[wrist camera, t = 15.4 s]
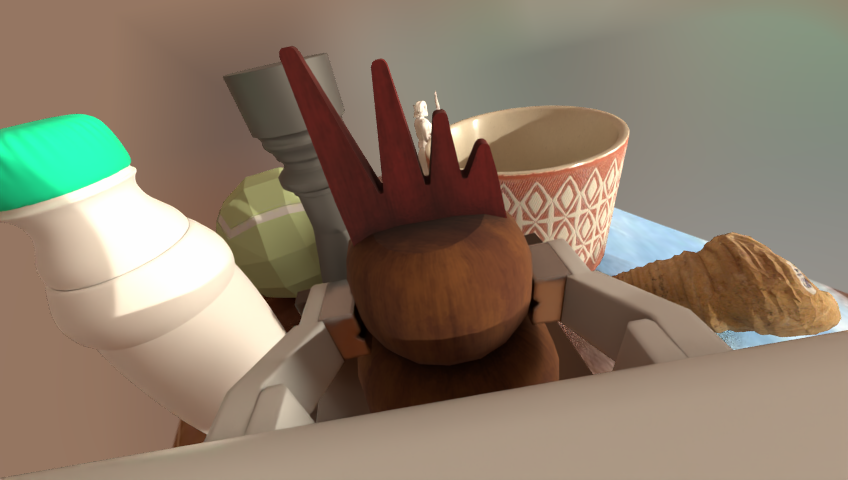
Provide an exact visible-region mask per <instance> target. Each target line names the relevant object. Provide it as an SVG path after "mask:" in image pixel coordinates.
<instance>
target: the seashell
mask: <svg viewBox="0 0 848 480" xmlns="http://www.w3.org/2000/svg"><path fill="white" fill-rule="evenodd" d="M612 277H613V278H616V279H618V280H621V281H623V282H625V283H628V284H630V285H633V286H635V287H637V288H640V289H642V290H645V291H647V292H649V293H652V294H654V295H656V296H659V297H661V298H664V299H666V300H668V301H671V302H673V303H676V304H678V305H680V306H683V307H685V308H688V309H690V310H691V311H692V312H693V313H694V314H695V315H697V316H698V317H699V318H700V319H701V320H702V321H703V322H704V323H705V324H706V325H707V326H708V327H709V328H710V329H711V330H712V331H713V332H715V333H721V332H724V331H726V330H731V331H734V332H746V331H755V332H757V333H758V334H760V335H769V334H770V335H775V336H779V337H792V336H800V335H816V334H818V333H820V332H824V331H827V330H830V329H831V328H832V327H834V326H836V325H837V324H838V323H839V321H840V319H841V315H840V311H839V307H838V303H837V302H836V301H835V299H834V298H833V296H832V295H831V294H830V293H828V292H825V291H820V290H819V289H818V288H817V287H816V286H815V285H814V284H813V283H811V282H810V281H809V279H808V278H807V277H806V276H805V275H804V274H803V273H802V272H801V271H800V270H799V269H798V268H797V267H796V266H794V265H793V264H791V263H790V262H789V261H787V260H785V259H783V258H782V257H780V256H778V255H776V254H774V253H773V252H772V251H771V250H770V249H769V248H768V247H766V246H765V245H763V244H761V243H759V242H757V241H755V240H754V239H752V238H751V237H750V236H745V235H741V234H737V233H734V232H732V233H727V234H725V235H720V236H717V237H714V238H713V239H712V240H711V241H710V242H707V243H706V244H705V245H704V247H703V249H702V250H700V251H699V252H697V253H695V252H690V251H683V252H682V253H681V254H680V255H674V256H673V257H672V258H671V259H667V260H656V261H655V262H653V263H648V264H647V265H645V266H644V267H636V268H635V269H630V271H628V272H622V273H620V274H618V275H616V276H612Z"/></svg>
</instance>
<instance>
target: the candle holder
mask: <svg viewBox="0 0 848 480" xmlns="http://www.w3.org/2000/svg"><path fill="white" fill-rule="evenodd" d="M303 58H304V60H305V61H306V63H307V64H308V66H309V68H310V69H311V71H312V72H313V74H314V76H315V77H316V79H317V81H318V82H319V84H320V85H321V87H322V89H323V90H324V92H325V93H326V95H327V97H328V98H329V100H330V101H331V103H332V105H333V106H334V108H335V110H336V111H337V113H338V114H339V116H340V118H341V119H342V115H343V113H344V111H345V109H344V106H343V103H342V100H341V97H340V93H339V90H338V87H337V84H336V80H335V77H334V74H333V71H332V67H331V64H330V61H329V58H328V54H327V53H322V54H316V55H311V56H306V57H303ZM223 78H224V80H225V82H226V84H227V86H228V88H229V90H230V92H231V94H232V96H233V98H234V100H235V102H236V104H237V106H238V108H239V110H240V112H241V114H242V116H243V118H244V120H245V122H246V124H247V126H248V128H249V130H250V133H251V135H252V136H253V137H254V138H258V139H259V140H260V141H261V142H262V146H263V148H264V149H265V150H266V151H268V152H269V153H272V154H273V155H274V156H275V157H276V159H277V160H278V161H279V162H282V163H283V164H284V169H283V170H282V171H281V173H280V175H279V177H278V179H279V182H280V184H281V186H282V188H283V189H284V190H286V191H289V192H292V193H294V195H295V196H298V197H299V199H300V201H301V203H302V205H303V207H304V210H305V212H306V214H307V216H308V218H309V220H310V222H311V225H312V227H313V230H314V236H315V241H316V247H317V252H318V258H319V264H320V270H321V276H322V281H323V283H329V282H333V281H339V280H345V279H347V270H346V258H347V251H348V243H349V240H350V236H349V234H348V231H347V229H346V227H345V224H344V222H343V220H342V217H341V215H340V213H339V210H338V208H337V206H336V203H335V201H334V198H333V196H332V193H331V190H330V188H329V185H328V183H327V180H326V177H325V175H324V172H323V170H322V167H321V164H320V162H319V159H318V156H317V154H316V151H315V149H314V146H313V143H312V141H311V138H310V136H309V133H308V130H307V128H306V125H305V123H304V120H303V117H302V115H301V112H300V110H299V107H298V104H297V102H296V99H295V97H294V94H293V91H292V89H291V86H290V84H289V81H288V78H287V76H286V73H285V70H284V68H283V65H282V63H281V62H278V63H273V64H269V65H265V66H260V67H256V68H252V69H248V70H244V71H240V72H236V73H232V74H228V75H225V76H223ZM342 121H343V120H342ZM343 122H344V121H343Z"/></svg>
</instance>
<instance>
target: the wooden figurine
mask: <svg viewBox="0 0 848 480" xmlns="http://www.w3.org/2000/svg"><path fill="white" fill-rule="evenodd" d="M279 55H280V56H279V57H280V60H281V63H282V65H283V68H284V70H285V73H286V76H287V78H288V81H289V84H290V86H291V89H292V91H293V94H294V97H295V99H296V102H297V104H298V107H299V110H300V112H301V115H302V117H303V120H304V123H305V125H306V128H307V130H308V133H309V136H310V138H311V141H312V143H313V146H314V149H315V151H316V154H317V156H318V159H319V162H320V164H321V167H322V170H323V172H324V175H325V177H326V180H327V183H328V185H329V188H330V190H331V193H332V196H333V198H334V201H335V203H336V206H337V208H338V210H339V213H340V215H341V217H342V220H343V222H344V224H345V227H346V229H347V231H348V234H349V236H350V240H349V243H348V251H347V258H346V270H347V282H348V284H349V287H350V290H351V292H352V295H353V298H354V300H355V303H356V306H357V308H358V311H359V314H360V316H361V319H362V320H363V322H364V324H365V326H366V328H367V329H368V331H369V332H370V333H371V334H372V350H371V354H370V355H366V356H361V357H358V377H359V380H360V383H361V386H362V389H363V392H364V395H365V398H366V401H367V404H368V407H369V410H370V413H376V412H382V411H388V410H394V409H399V408H405V407H411V406H417V405H422V404H428V403H434V402H440V401H445V400H451V399H457V398H463V397H469V396H474V395H480V394H486V393H491V392H497V391H503V390H509V389H514V388H520V387H526V386H531V385H537V384H543V383H548V382H554V381H559V357H558V354H557V351H556V348H555V345H554V342H553V340H552V338H551V335H550V333H549V331H548V329H547V327H546V325H545V323H544V324H538V325H532V323H531V321H530V319H529V317H528V315H527V314H528V310H529V305H530V301H531V291H532V276H533V270H532V253H531V251H530V248H529V246H528V244H527V241H526V239H525V236H524V234H523V232H522V230H521V229H520V227H519V226H518V224H517V223H516V221H515V219H514V218H513V216H512V215H511V214H509V213H508V212H507V211H506V210H505V206H504V201H503V197H502V192H501V187H500V183H499V178H498V174H497V170H496V166H495V163H494V159H493V156H492V153H491V149H490V146H489V144H488V143H487V141H486V140H485V139H483V138H479V139H477V140H476V141H475V143H474V145H473V148H472V150H471V153H470V155H469V158H468V160H467V163H466V165H465V168H464V169H463V170H460V167H459V163H458V158H457V154H456V150H455V146H454V142H453V138H452V134H451V129H450V125H449V121H448V117H447V114H446V112H445V111H444V110H443V109H440V110H435V111H434V112H433V115H432V130H431V147H430V164H429V175H428V176H425V175H424V173H423V170H422V167H421V164H420V161H419V158H418V155H417V152H416V149H415V146H414V143H413V140H412V137H411V134H410V131H409V128H408V125H407V122H406V119H405V116H404V113H403V110H402V107H401V104H400V101H399V98H398V95H397V92H396V89H395V86H394V83H393V79H392V77H391V73H390V70H389V67H388V65H387V63H386V61H385V60H384V59H377V60H375V61H373V62H372V65H371V71H372V82H373V92H374V102H375V111H376V120H377V130H378V141H379V150H380V161H381V171H382V180H383V183H381V182H380V180H379V179H378V177H377V176H376V174H375V172H374V171H373V169H372V167H371V166H370V164H369V163H368V161H367V159H366V158H365V156H364V155H363V153H362V151H361V150H360V148H359V147H358V145H357V143H356V142H355V140H354V139H353V137H352V135H351V134H350V132H349V130H348V129H347V127H346V126H345V124H344V122H343V121H342V119H341V118H340V116H339V114H338V113H337V111H336V110H335V108H334V106H333V105H332V103H331V101H330V100H329V98H328V97H327V95H326V93H325V92H324V90H323V89H322V87H321V85H320V84H319V82H318V81H317V79H316V77H315V76H314V74H313V72H312V71H311V69H310V68H309V66H308V64H307V63H306V61H305V60H304V58H303V56H302V55H301V53H300V52H299V51H298V49H297V48H296V47H294V46H290V47H286V48H282V49H281V50H280V52H279Z"/></svg>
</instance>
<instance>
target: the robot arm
mask: <svg viewBox="0 0 848 480" xmlns="http://www.w3.org/2000/svg"><path fill="white" fill-rule="evenodd" d="M528 246H529V248H530V251H531V253H532V270H533V276H532V291H531V301H530V305H529V310H528V314H527V315H528V317H529V319H530V321H531V323H532V325H538V324H544V323H551V322H557V321H561V323H563V324H564V325H565V326H567V327H568V328H570V329H571V330H572V331H574V332H575V333H576V334H578V335H579V336H581V337H582V338H583V339H585V340H586V341H587V342H589V343H590V344H592V345H593V346H594V347H596V348H597V349H599V350H600V351H601V352H603V353H604V354H605V355H607V356H608V357H610V358H611V359H612V360H614V361H615V365H614V368H613V371H611V372H605V373H600V374H594V375H588V376H583V377H577V378H571V379H565V380H560V381H554V382H548V383H543V384H537V385H531V386H526V387H520V388H514V389H509V390H503V391H497V392H491V393H486V394H480V395H474V396H469V397H463V398H457V399H451V400H445V401H440V402H434V403H428V404H422V405H417V406H411V407H405V408H399V409H394V410H388V411H382V412H376V413H371V414H365V415H359V416H353V417H348V418H342V419H336V420H331V421H325V422H319V423H315V422H314V421H313V419H312V418H311V417H310V414H311V413H312V411H313V410H314V408H315V407H316V405H317V403H318V402H319V400H320V399H321V397H322V396H323V394H324V393H325V391H326V389H327V388H328V386H329V385H330V383H331V382H332V380H333V379H334V377H335V375H336V374H337V372H338V371H339V369H340V368H341V366H342V365H343V363H344V360H346V359H351V358H356V357H361V356H366V355H370V354H371V350H372V334H371V333H370V332H369V331H368V329H367V328H366V326H365V324H364V322H363V320H362V319H361V316H360V314H359V311H358V308H357V306H356V303H355V300H354V298H353V295H352V292H351V290H350V287H349V284H348V282H347V279H345V280H339V281H333V282H329V283H322V284H316V285H314V286H312V287H311V290H310V293H309V296H308V299H307V302H306V305H305V308H304V311H303V314H302V317H301V321H300V324H299V325H297V326H294V327H293V328H292V329H291V330H290V331H289V332H288V333H287V334H286V335H285V336H284V337H283V338H282V339H281V340H280V341H279V342H277V343H276V344H275V345H274V346H273V347H272V348H271V349H270V350H269V351H268V352H267V353H266V354H265V355H264V356H263V357H262V358H261V359H260V360H259V361H258V362H257V363H256V364H255V365H254V366H253V367H252V368H251V369H250V370H249V371H248V372H247V373H246V374H245V375H244V376H243V377H242V378H241V379H240V380H239V381H238V382H237V383H236V384H234V385H233V386H232V387H231V388H230V389H229V390H228V391H227V393H226V395H225V397H224V399H223V401H222V403H221V406H220V408H219V410H218V412H217V414H216V416H215V419H214V421H213V423H212V425H211V427H210V429H209V432H208V434H207V436H206V438H205V440H204V442H203V443H199V444H193V445H187V446H181V447H176V448H170V449H165V450H158V451H153V452H147V453H141V454H136V455H130V456H124V457H118V458H112V459H107V460H101V461H95V462H89V463H84V464H78V465H72V466H67V467H61V468H55V469H49V470H44V471H38V472H32V473H26V474H21V475H15V476H9V477H4V478H0V480H848V330H846V331H841V332H835V333H829V334H823V335H818V336H812V337H806V338H800V339H795V340H789V341H783V342H778V343H772V344H766V345H760V346H755V347H749V348H743V349H737V350H733V349H731V348H730V347H729V346H728V345H727V344H726V343H725V342H724V341H723V340H722V339H721V338H720V337H719V336H718V335H717V334H716V333H715V332H713V331H712V330H711V329H710V328H709V327H708V326H707V325H706V324H705V323H704V322H703V321H702V320H701V319H700V318H699V317H698V316H697V315H695V314H694V313H693V312H692V311H691V310H690V309H688V308H685V307H683V306H680V305H678V304H676V303H673V302H671V301H668V300H666V299H664V298H661V297H659V296H656V295H654V294H652V293H649V292H647V291H645V290H642V289H640V288H637V287H635V286H633V285H630V284H628V283H625V282H623V281H621V280H618V279H616V278H613V277H611V276H609V275H606V274H604V273H602V272H599V271H597V270H596V271H591V270H590V269H589V268H588V267H587V265H586V264H585V263H584V262H583V261H582V259H581V258H580V257H579V256H578V255H577V253H576V252H575V251H574V250H573V249H572V247H571V246H570V245H569V244H568V243H567V241H566V240H565V239H563V238H560V239H556V240H551V241H546V242H543V243H538V244H533V245H528Z"/></svg>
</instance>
